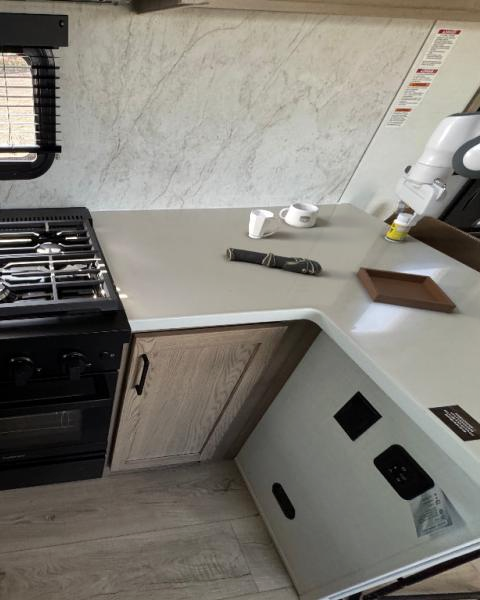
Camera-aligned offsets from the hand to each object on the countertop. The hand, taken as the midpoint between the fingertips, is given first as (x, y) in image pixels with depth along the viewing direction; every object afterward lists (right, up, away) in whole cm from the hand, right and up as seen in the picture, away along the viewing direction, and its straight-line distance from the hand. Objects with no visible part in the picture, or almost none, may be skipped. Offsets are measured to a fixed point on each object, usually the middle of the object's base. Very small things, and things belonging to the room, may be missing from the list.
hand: (403, 219), depth 108 cm
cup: (-42, -4, +7) cm, 42 cm away
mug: (-24, +2, +16) cm, 29 cm away
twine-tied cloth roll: (-47, -16, -8) cm, 50 cm away
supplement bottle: (0, -6, +4) cm, 7 cm away
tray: (-20, -24, -20) cm, 37 cm away
